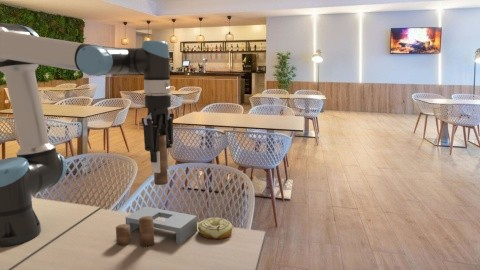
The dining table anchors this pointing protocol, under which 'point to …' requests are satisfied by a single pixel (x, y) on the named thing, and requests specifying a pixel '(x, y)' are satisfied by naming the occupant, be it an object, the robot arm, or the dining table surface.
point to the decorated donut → (215, 228)
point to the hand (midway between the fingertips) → (160, 170)
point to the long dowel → (162, 162)
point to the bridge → (166, 222)
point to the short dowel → (123, 234)
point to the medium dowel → (146, 231)
